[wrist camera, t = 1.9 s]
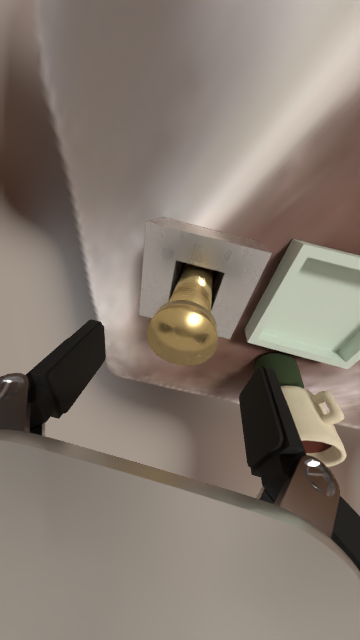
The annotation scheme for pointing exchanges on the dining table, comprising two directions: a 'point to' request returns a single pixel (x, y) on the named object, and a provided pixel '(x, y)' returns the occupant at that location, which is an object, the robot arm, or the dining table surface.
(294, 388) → the character mug
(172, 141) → the dining table surface
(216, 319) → the white square-hole block
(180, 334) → the pin
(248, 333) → the tray
